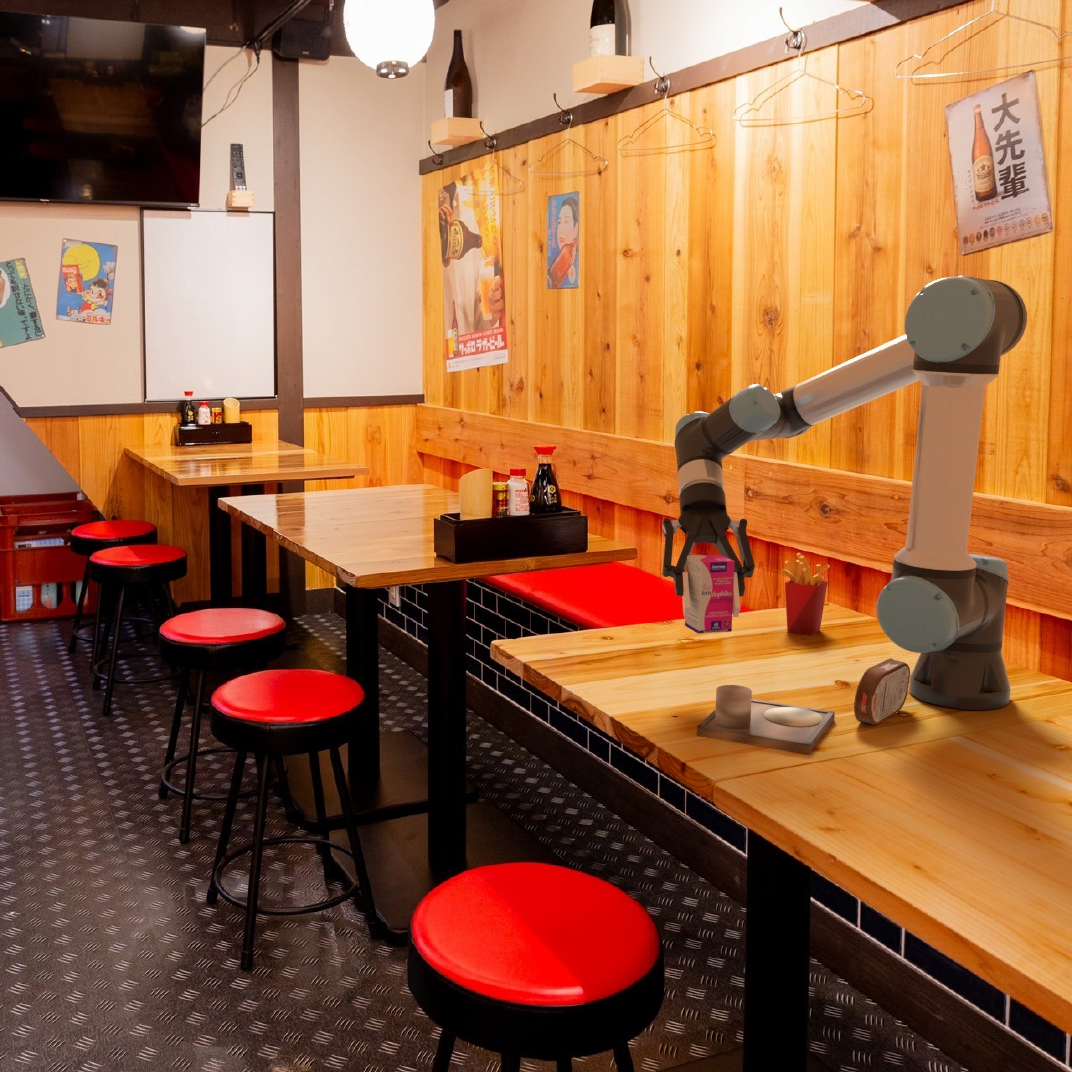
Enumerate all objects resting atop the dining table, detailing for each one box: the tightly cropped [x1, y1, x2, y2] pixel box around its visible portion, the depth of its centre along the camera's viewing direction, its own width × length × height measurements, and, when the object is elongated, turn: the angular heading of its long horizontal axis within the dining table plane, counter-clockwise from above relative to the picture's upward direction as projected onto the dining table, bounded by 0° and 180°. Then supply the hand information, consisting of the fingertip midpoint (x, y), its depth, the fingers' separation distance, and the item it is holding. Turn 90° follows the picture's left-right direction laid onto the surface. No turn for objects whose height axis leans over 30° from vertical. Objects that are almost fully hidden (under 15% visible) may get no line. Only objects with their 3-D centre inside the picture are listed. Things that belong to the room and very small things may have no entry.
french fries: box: [780, 552, 831, 636], centre depth 224 cm, size 9×8×15 cm
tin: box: [853, 657, 911, 726], centre depth 174 cm, size 15×3×8 cm, turn 141°
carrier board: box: [696, 684, 836, 755], centre depth 168 cm, size 16×16×6 cm
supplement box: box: [684, 553, 734, 635], centre depth 182 cm, size 6×6×12 cm
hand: (711, 611), depth 178 cm, fingers closed on supplement box, 7 cm apart
